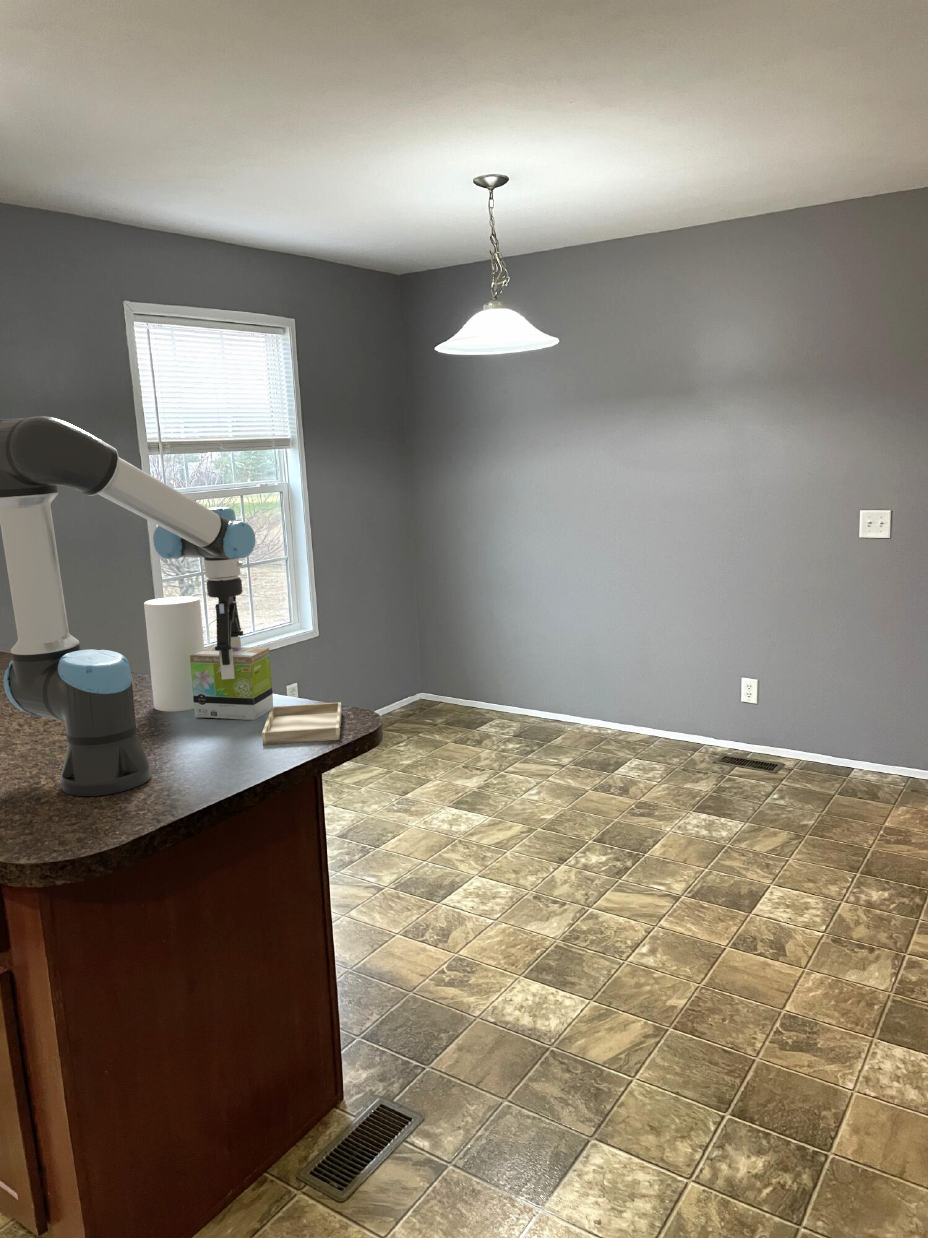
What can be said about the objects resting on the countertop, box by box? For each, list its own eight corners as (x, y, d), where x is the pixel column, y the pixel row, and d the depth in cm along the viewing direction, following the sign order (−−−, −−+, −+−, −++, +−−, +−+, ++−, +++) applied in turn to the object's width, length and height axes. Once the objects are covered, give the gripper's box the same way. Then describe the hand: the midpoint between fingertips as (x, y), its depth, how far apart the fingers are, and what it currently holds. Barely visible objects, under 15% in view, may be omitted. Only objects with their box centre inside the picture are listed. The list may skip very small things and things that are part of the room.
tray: (339, 739, 188) (338, 727, 187) (262, 744, 186) (262, 732, 186) (341, 713, 208) (341, 702, 207) (272, 717, 206) (271, 706, 206)
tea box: (193, 719, 208) (187, 654, 205) (215, 707, 217) (210, 645, 215) (255, 721, 204) (250, 655, 201) (275, 709, 213) (270, 645, 211)
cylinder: (215, 696, 227) (206, 595, 223) (199, 710, 215) (190, 603, 210) (164, 698, 227) (154, 597, 223) (146, 712, 215) (135, 605, 211)
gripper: (233, 584, 193) (242, 683, 197) (247, 569, 218) (255, 658, 222) (196, 587, 193) (206, 686, 197) (215, 571, 217) (223, 660, 221)
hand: (232, 671), depth 209 cm, fingers open, 13 cm apart
